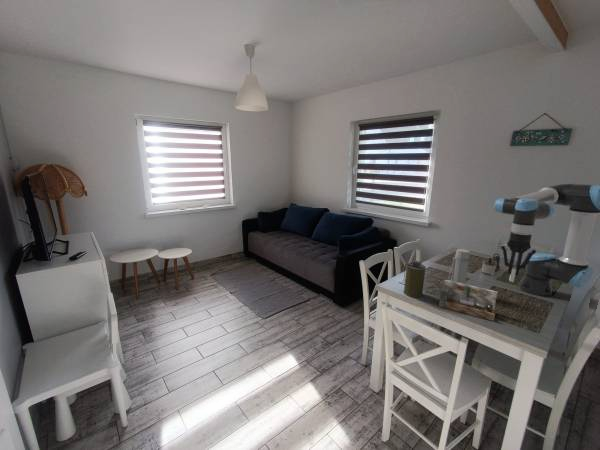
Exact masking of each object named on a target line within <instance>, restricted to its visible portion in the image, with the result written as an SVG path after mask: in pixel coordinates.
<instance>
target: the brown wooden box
mask: <svg viewBox="0 0 600 450" xmlns="http://www.w3.org/2000/svg"><path fill="white" fill-rule="evenodd" d="M468 288H470V291H469V297H471V298H474V303H477V304H481V305H484V306H488V304H489V305H493V308H492V312H488V311H487V309H485V308H481V307H477V306H473V308H471V307H467V306H464V305H460V299H461V295H462V296H466V297H467V294H468ZM497 298H498V291H497V290H496V291H495V290H492V289H487V288H484V287H483V288H482V287H478V286H475V285H470V284H467V283H465V284H461V283H457V282H452V281H450V280H449V279H443V285H442V287H441V291H440V297H439V302H438V304H439V305H438V306H439V307H441V308H445V309H448V310H452V311H455V312H458V313H459V312H460V313H463V314H466V315H471V316H474V317H477V318H481V319H485V320H488V321H492V322H494V321H495V316H496V313H495V306H496V302H497Z"/></svg>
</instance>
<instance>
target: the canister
mask: <svg viewBox="0 0 600 450" xmlns="http://www.w3.org/2000/svg"><path fill="white" fill-rule="evenodd" d="M404 269H405V272H404V274H403V279H404V286H403V287H404V288H403V294H404V295H405V296H407V297H410V298H414V299H419V298H422V297H423V296H424V294H423V292H424V291H423V290H424V283H425V276H426V275H425V274H426V269H427V266H425V265H424V264H423V263H422V261H419V260H415V259H414V261H413V262H406V263H405V265H404Z"/></svg>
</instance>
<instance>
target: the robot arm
mask: <svg viewBox="0 0 600 450" xmlns="http://www.w3.org/2000/svg"><path fill="white" fill-rule="evenodd" d="M553 205H557V206H566V207H569V208H568V210H569V212H570V213H571V218H570V222H569V227H568V233H567V236H566V239H565V245H564V250H563V254H562V256H560V257H558V258H557V255H555V254H552V253H545V252H543V253H542V252H537V251H536V249H534V248H533V247H532V246H531V241H532V236H533V235H532V234H533V231H534V226H535V221H536V220H543V219H544V220H545V219H548V218H550V217H552V216H553V215H554V213H555V208H554V206H553ZM493 206H494V207H493V208H494V211H495V212H496V213H499V214H500V213H501V214H503V215H504V214H505V215H510V216H511V215H512V216H513V220H512V223H511V230H510V231H511V232H510V234H509V239H508V241H507V243H505V244H501V245H500V248H501V250H502V253H503V261H504V266H505V267H507V268H508V270H507V274H509V278H508V279H509V282H511V283H514V281H515V276H518V275H519V272H520V270H522V269H523V270H525V273H524V276H523V278H521V280H520V282H519V283H518V288H519V289H520V290H521V291H523V292H526V293H527V294H532V295H536V296H542V297H550V296H552V293H553V288H552V287H553V286H552V282H551V280H554V281H557V282H559V283H563V284H566V285H568V286H573V287H576V288H580V287H583V286H585V285H586V284H587V283H589V281H590V280H591V278H592V276H593V273H594V271H593V268H591V267H589V265H590V263H589V262H588V261H587V260H586V258H587V255H588V251H589V247H590V243H591V238H592V233H593V230H594V227H595V223H596V218H597V216H598V215H600V185H597V184H575V183H561V184H554V185H551V186H546V187H542V188H541V189H539V190H538V191H534V192H532V193H527V194H524V195H520V196H516V197H512V198H505V197H504V198H502V197H501V198H497V200H495V202H494V205H493ZM508 248H509V250H510V251H511V254H510V258H509V260H508V253H507V249H508ZM527 251H528V253H527V255H526V256H525V258H524V259H523V261H522V258H523V255H524V253H526V252H527ZM517 253H518V254H517ZM516 254H517V258H516V263H515V266H514V261H515V256H516ZM508 261H509V262H508Z"/></svg>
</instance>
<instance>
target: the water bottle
mask: <svg viewBox="0 0 600 450" xmlns="http://www.w3.org/2000/svg"><path fill="white" fill-rule="evenodd" d="M469 261H470V250H468V249H464V248H457V249H456V252H455V255H454V256H453V261H452V264H451V267H450V271H449V274H448V277H451V279H449V281H452V282H457V283H461V284H466V280H467V276H468V275H467V274H468V267H469Z"/></svg>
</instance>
